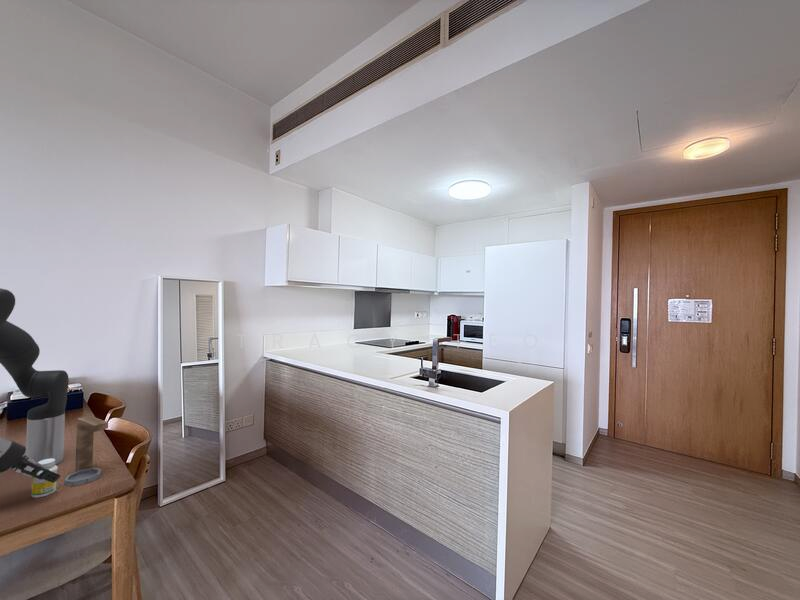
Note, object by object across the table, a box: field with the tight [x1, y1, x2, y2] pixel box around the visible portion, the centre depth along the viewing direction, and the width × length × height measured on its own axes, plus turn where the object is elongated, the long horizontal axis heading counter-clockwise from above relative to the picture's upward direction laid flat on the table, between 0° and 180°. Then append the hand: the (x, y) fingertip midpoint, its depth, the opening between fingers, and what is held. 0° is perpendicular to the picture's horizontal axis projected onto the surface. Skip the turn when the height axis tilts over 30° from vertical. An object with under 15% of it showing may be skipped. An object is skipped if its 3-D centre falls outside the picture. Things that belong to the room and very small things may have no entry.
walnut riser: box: [74, 415, 109, 472], centre depth 111 cm, size 4×13×18 cm, turn 63°
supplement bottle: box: [31, 458, 59, 498], centre depth 100 cm, size 5×5×10 cm
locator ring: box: [64, 467, 102, 487], centre depth 108 cm, size 8×8×2 cm
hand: (51, 475), depth 101 cm, fingers open, 7 cm apart
